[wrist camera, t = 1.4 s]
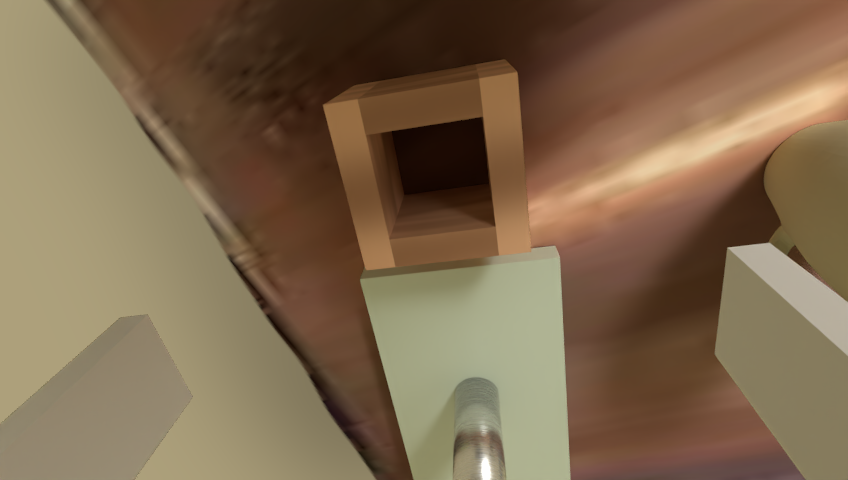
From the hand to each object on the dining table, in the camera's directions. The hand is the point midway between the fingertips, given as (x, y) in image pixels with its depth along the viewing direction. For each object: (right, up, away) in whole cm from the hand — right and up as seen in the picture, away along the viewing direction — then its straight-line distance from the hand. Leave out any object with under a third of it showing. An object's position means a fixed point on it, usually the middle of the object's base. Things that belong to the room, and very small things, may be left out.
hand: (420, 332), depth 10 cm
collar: (+1, +7, +15) cm, 17 cm away
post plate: (+4, -8, +22) cm, 24 cm away
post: (+4, -8, +21) cm, 23 cm away
